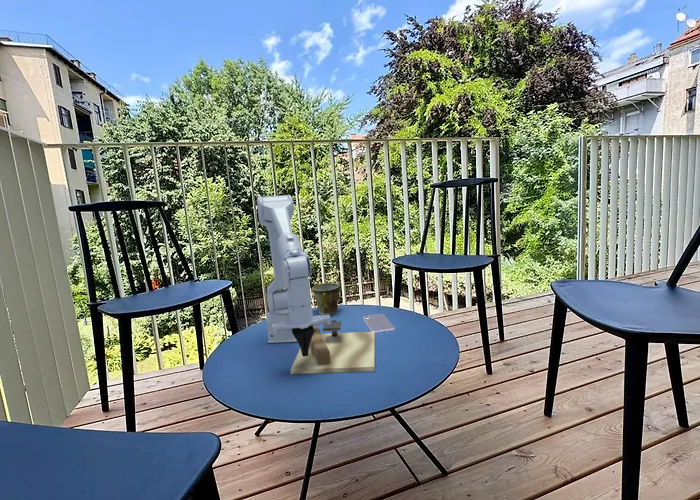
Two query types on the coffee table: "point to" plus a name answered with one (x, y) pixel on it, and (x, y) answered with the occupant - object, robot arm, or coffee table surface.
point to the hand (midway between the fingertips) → (305, 354)
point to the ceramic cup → (327, 297)
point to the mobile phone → (378, 323)
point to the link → (319, 348)
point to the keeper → (332, 327)
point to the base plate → (340, 354)
